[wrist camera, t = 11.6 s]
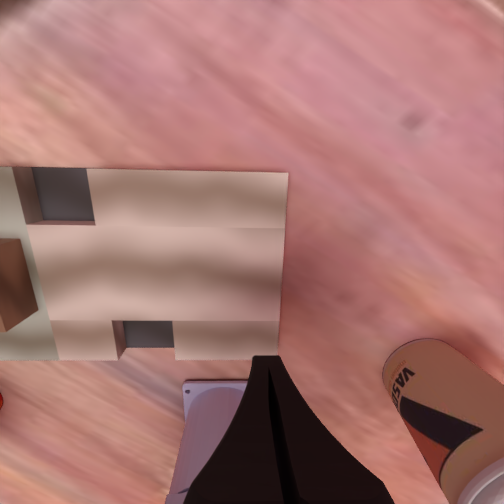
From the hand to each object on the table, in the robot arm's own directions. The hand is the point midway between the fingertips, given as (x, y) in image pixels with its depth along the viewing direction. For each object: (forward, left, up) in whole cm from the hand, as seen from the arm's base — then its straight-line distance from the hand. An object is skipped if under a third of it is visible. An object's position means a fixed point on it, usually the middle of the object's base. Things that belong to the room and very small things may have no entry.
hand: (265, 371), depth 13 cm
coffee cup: (-9, -17, -11) cm, 22 cm away
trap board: (+2, +11, -10) cm, 15 cm away
